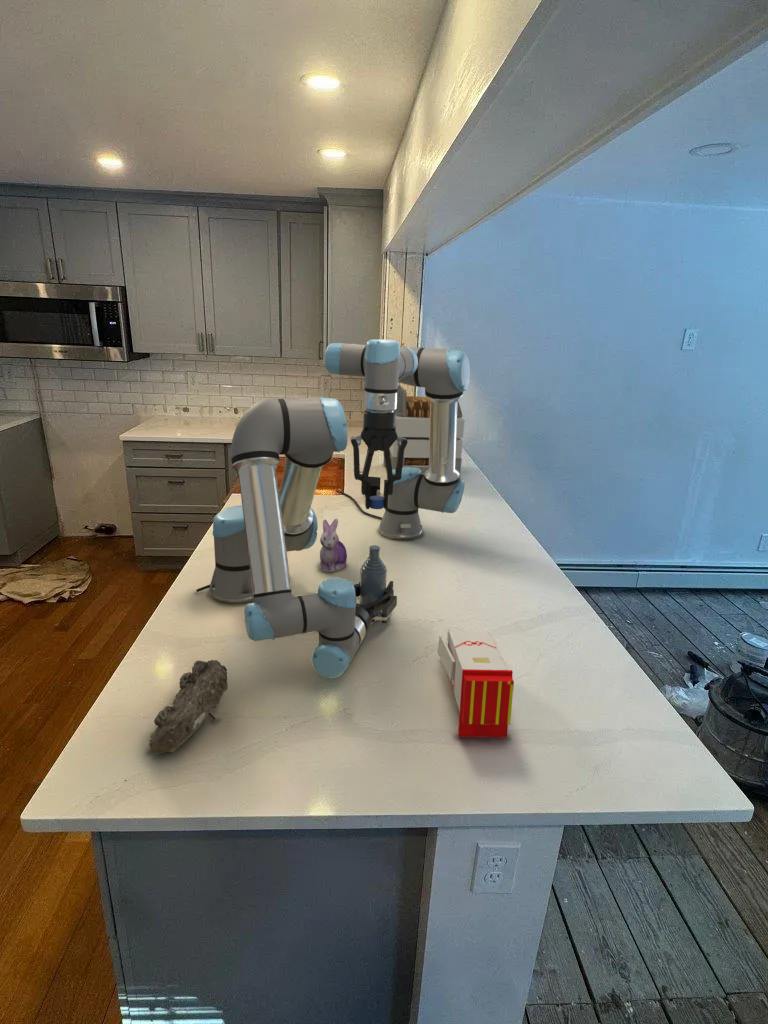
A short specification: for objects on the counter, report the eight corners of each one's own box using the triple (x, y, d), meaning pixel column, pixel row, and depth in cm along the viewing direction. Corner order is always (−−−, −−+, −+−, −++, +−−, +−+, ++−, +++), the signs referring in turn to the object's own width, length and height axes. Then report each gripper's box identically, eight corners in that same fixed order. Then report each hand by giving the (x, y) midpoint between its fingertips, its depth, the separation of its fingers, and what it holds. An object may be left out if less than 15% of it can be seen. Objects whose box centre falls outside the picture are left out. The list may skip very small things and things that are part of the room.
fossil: (177, 661, 117) (228, 629, 112) (210, 691, 120) (261, 661, 115) (124, 747, 97) (183, 713, 92) (164, 781, 100) (223, 749, 95)
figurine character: (380, 506, 230) (380, 491, 243) (381, 489, 227) (381, 475, 240) (364, 506, 230) (364, 491, 243) (364, 489, 226) (365, 474, 240)
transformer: (382, 463, 289) (386, 382, 275) (445, 464, 293) (451, 384, 279) (390, 482, 257) (394, 392, 243) (460, 483, 261) (468, 394, 247)
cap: (384, 504, 139) (384, 495, 138) (384, 509, 135) (384, 500, 135) (368, 503, 139) (369, 495, 138) (368, 509, 135) (368, 500, 134)
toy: (488, 613, 130) (523, 677, 101) (484, 667, 133) (517, 744, 104) (435, 612, 130) (455, 676, 101) (432, 666, 133) (451, 743, 103)
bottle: (376, 623, 143) (379, 554, 136) (354, 615, 146) (356, 548, 139) (389, 612, 148) (392, 545, 142) (367, 605, 151) (369, 539, 145)
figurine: (324, 575, 166) (325, 528, 161) (312, 561, 175) (312, 516, 170) (353, 570, 170) (355, 523, 165) (340, 557, 179) (341, 512, 174)
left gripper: (310, 634, 132) (342, 590, 153) (391, 649, 127) (413, 602, 148) (310, 605, 129) (342, 565, 150) (393, 620, 125) (415, 576, 146)
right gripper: (344, 412, 125) (342, 512, 133) (419, 414, 127) (412, 512, 135) (342, 406, 132) (341, 502, 140) (413, 408, 134) (408, 502, 142)
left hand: (377, 583), depth 149 cm, fingers closed on bottle, 7 cm apart
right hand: (376, 507), depth 137 cm, fingers closed on cap, 4 cm apart
